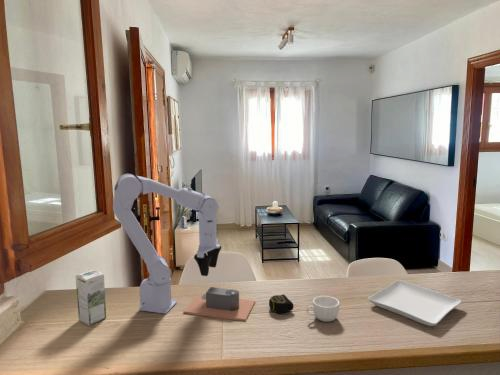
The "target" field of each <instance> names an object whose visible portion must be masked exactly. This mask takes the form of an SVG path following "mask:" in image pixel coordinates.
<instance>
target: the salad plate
mask: <svg viewBox="0 0 500 375" xmlns="http://www.w3.org/2000/svg"><path fill="white" fill-rule="evenodd" d="M367 299H368V301H369V302H370V303H371V304H373V305H374V306H377V307H378V308H381V309H384V310H387V311H389V312H392V313H395V314H397V315H399V316H402V317H405V318H408V319H409V320H412V321H414V322H418V323H419V324H423V325H425V326H429V327H433V326H437V325H438V323H440V322H441V321H442V320H443V319H444V318H445V317H446V316H447V315H448V314H449V313H450V312H451V311H452V310H454V309H455V308H456V307H458V306H459V305H460V304H461V303H462V300H461V299H459V298H456V297H453V296H451V295H447V294H444V293H441V292H438V291H436V290H433V289H430V288H426V287H423V286H420V285H417V284H414V283H410V282H408V281H404V280H401V279H397V280H395V281H394V282H392V283H389V285H387V286H385V287H384V288H382V289H381V290H379V291H377V292H375V293H374V294H372V295H370V296H368V297H367Z"/></svg>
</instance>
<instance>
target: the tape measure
mask: <svg viewBox="0 0 500 375" xmlns="http://www.w3.org/2000/svg"><path fill="white" fill-rule="evenodd" d="M268 307H269V309H270V310H271V311H273V312H274V313H278V314H279V313H280V314H284V313H287V312H290V311H293V310H294V303H293V302H292V301H291V300H290V299H289V298H288V297H287V296H286V295H285V294H275V295H273V296H271V297H270V298H269V300H268Z"/></svg>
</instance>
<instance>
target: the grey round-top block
mask: <svg viewBox="0 0 500 375" xmlns="http://www.w3.org/2000/svg"><path fill="white" fill-rule="evenodd" d="M202 295H203V296H202V297H201V299H204V300H206V308H212V309H220V310H228V311H235V310H238V309H239V299H240V291H239V290H237V289H234V288H233V289H230V288H223V287H214V286H213V287H212V286H210V287H209V288H208V290H207V291H205V293H204V294H202Z"/></svg>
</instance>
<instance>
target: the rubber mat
mask: <svg viewBox="0 0 500 375" xmlns="http://www.w3.org/2000/svg"><path fill="white" fill-rule="evenodd" d="M203 295H204V294H197V296H196V297H195V298H193V300H192V301H191V302H190V303H189V305H187V307H186V308H184V310H183V314H188V315H196V316H202V317H203V316H204V317H211V318H219V319H226V320H233V321H241V322H242V321H243V322H247V319H248V317H249V315H250V314H251V312H252V309H253V307H254V306H255V304H256V300H250V299H241V298H239V309H238V310H235V311H228V310H220V309H212V308H206V300H204V299H201V297H202V296H203Z"/></svg>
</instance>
